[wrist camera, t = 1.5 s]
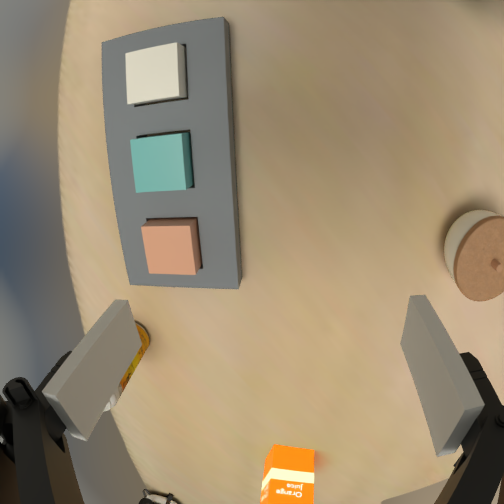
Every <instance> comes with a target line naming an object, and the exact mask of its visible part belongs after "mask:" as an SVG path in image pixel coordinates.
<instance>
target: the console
mask: <svg viewBox="0 0 504 504" xmlns="http://www.w3.org/2000/svg"><path fill="white" fill-rule="evenodd" d="M176 42H177V43H179V44H181V45H182V46H184V47H186V50H187V76H188V97H189V99H187V100H179V101H172V102H164V103H158V104H151V105H145V104H140V105H137V104H127V87H126V57H125V53H129V52H133V51H137V50H141V49H146V48H150V47H155V46H160V45H165V44H170V43H176ZM102 85H103V105H104V119H105V132H106V142H107V152H108V161H109V169H110V177H111V184H112V191H113V198H114V205H115V211H116V217H117V223H118V228H119V234H120V239H121V244H122V250H123V254H124V259H125V264H126V269H127V273H128V278H129V282H130V285H144V286H164V287H188V288H215V289H239V286H240V283H241V280H242V268H241V252H240V235H239V218H238V201H237V183H236V164H235V145H234V126H233V106H232V84H231V62H230V39H229V23H228V22H227V21H226V19H225V18H224V17H218V18H210V19H203V20H196V21H190V22H184V23H178V24H173V25H168V26H163V27H158V28H154V29H149V30H145V31H141V32H137V33H133V34H129V35H126V36H122V37H118V38H115V39H112V40H108V41H105V42H102ZM180 130H190V131H191V145H192V158H193V171H194V185H192V186H191V187H189V188H188V189H187V190H173V191H155V192H140V193H136V189H135V181H134V173H133V164H132V154H131V144H130V140H132V139H137V138H142V137H147V134H154V133H162V132H171V131H180ZM173 217H198V226H199V235H200V245H201V254H202V265H201V267H200V269H199V270H198V272H197V274H196V275H180V274H150V273H149V270H148V265H147V259H146V254H145V248H144V242H143V236H142V230H141V226H142V225H144V224H145V223H146V222H147V221H149V220H150V219H152V218H173Z"/></svg>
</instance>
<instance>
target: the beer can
mask: <svg viewBox="0 0 504 504" xmlns="http://www.w3.org/2000/svg"><path fill="white" fill-rule="evenodd" d="M135 324H136V327H137V330H138V333H139V336H140V339H141V342H142V345H141V347H140V349H139V350H138V352H137V354H136V356H135V357H134V359H133V361H132V362H131V364H130V366H129V367H128V369H127V371H126V372H125V374H124V376H123V378H122V379H121V381H120V383H119V384H118V386H117V388H116V390H115V391H114V393H113V395H112V397H111V398H110V400H109V402H108V404H107V405H106V407H105V409H104V411H108V410H109V409H110V408H112V407H113V406H115V405H116V403H117V401H118V399H119V398H120V396H121V394H122V392H123V390H124V389H125V387H126V385H127V383H128V381H129V380H130V378H131V376H132V374H133V372H134V371H135V369H136V367H137V365H138V364H139V362H140V360H141V358H142V357H143V355H144V353H145V351H146V350H147V348H148V346H149V337H148V334H147V332H146V331H145V329H144V328H143V327H142V326H141V325H139V324H138V323H136V322H135Z"/></svg>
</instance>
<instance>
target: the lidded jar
mask: <svg viewBox="0 0 504 504" xmlns="http://www.w3.org/2000/svg"><path fill="white" fill-rule="evenodd" d="M444 257H445V263H446V266H447V269H448V271H449V273H450V275H451V277H452V279H453V280H454V282H455V283H456V284H457V286H458V288H459V289H460V291H461V292H462V293H463V294H464V295H465V296H466V297H467V298H469V299H471V300H473V301H486V300H490V299H492V298H495V297H496V296H498V295H500V294H501V293H502V292H504V217H502V216H501V215H499V214H497V213H494V212H491V211H487V210H473V211H470V212H467V213H465V214H463V215H462V216H460V217H459V218H458V219H457V220H456V221H455V222H454V223H453V224H452V226H451V227H450V229H449V231H448V233H447V236H446V239H445V244H444Z"/></svg>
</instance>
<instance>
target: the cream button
mask: <svg viewBox="0 0 504 504" xmlns="http://www.w3.org/2000/svg"><path fill="white" fill-rule="evenodd" d="M125 57H126V87H127V104H137V105H140V104H146V103H152V102H158V101H165V100H172V99H179V98H187V97H188V86H187V62H186V47H184V46H182V45H181V44H179V43H177V42H176V43H170V44H165V45H160V46H155V47H150V48H146V49H141V50H137V51H133V52H129V53H125Z"/></svg>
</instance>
